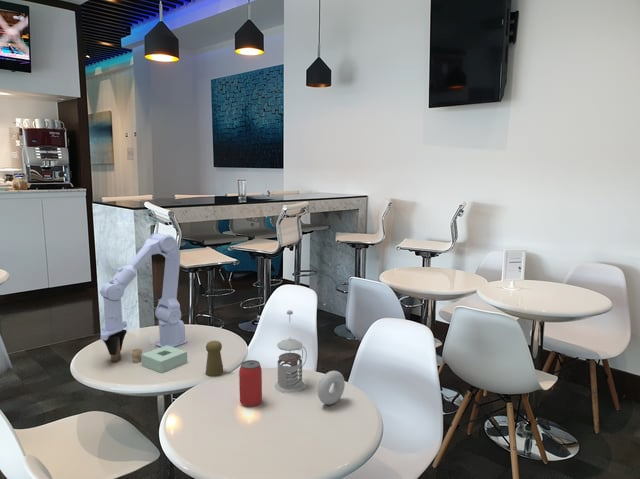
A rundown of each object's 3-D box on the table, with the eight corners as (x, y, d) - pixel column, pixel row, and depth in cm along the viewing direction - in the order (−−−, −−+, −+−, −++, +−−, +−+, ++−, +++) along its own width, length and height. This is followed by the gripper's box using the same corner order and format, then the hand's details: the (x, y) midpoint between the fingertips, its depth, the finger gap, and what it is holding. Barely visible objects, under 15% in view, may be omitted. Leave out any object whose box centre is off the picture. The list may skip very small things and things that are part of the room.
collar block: (167, 355, 173) (167, 345, 173) (187, 362, 167) (186, 351, 166) (141, 365, 164) (141, 354, 164) (161, 373, 158) (160, 361, 157)
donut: (323, 411, 133) (323, 378, 132) (315, 407, 136) (315, 374, 134) (347, 399, 140) (347, 368, 139) (338, 396, 143) (339, 364, 141)
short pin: (138, 358, 170) (138, 348, 169) (144, 360, 168) (143, 350, 168) (130, 361, 167) (130, 350, 167) (136, 363, 166) (135, 352, 165)
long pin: (117, 357, 171) (116, 336, 170) (122, 359, 169) (121, 338, 168) (109, 360, 168) (108, 339, 167) (114, 362, 166) (113, 341, 165)
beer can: (265, 398, 141) (265, 361, 139) (255, 409, 134) (255, 369, 133) (246, 395, 143) (245, 358, 141) (235, 405, 137) (234, 366, 135)
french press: (268, 386, 149) (267, 310, 145) (294, 374, 158) (294, 302, 154) (289, 396, 142) (289, 317, 139) (315, 383, 151) (315, 308, 147)
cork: (221, 376, 155) (220, 345, 154) (203, 376, 156) (202, 345, 154) (225, 369, 161) (224, 338, 160) (208, 369, 162) (207, 338, 160)
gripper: (113, 309, 174) (115, 344, 176) (91, 322, 159) (93, 360, 161) (131, 310, 173) (133, 345, 175) (111, 322, 159) (113, 360, 161)
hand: (115, 352), depth 168 cm, fingers closed on long pin, 3 cm apart
